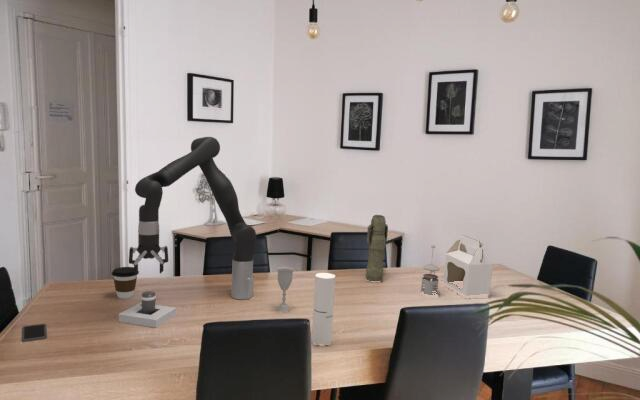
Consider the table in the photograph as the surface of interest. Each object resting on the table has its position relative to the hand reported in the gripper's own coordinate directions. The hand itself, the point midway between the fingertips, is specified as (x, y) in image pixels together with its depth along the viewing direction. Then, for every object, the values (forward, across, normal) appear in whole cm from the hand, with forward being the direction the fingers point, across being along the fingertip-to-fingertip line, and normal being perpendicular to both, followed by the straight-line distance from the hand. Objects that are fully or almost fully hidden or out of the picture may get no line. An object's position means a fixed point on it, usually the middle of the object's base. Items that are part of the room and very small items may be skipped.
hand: (148, 273), depth 185 cm
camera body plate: (+18, 0, 0) cm, 18 cm away
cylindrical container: (+19, -60, +34) cm, 71 cm away
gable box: (+20, -152, -10) cm, 154 cm away
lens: (+18, 0, 0) cm, 18 cm away
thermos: (+20, -112, -34) cm, 119 cm away
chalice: (+19, -54, 0) cm, 57 cm away
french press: (+20, -130, -9) cm, 132 cm away
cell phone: (+18, +38, +7) cm, 42 cm away
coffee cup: (+18, +10, -28) cm, 35 cm away
